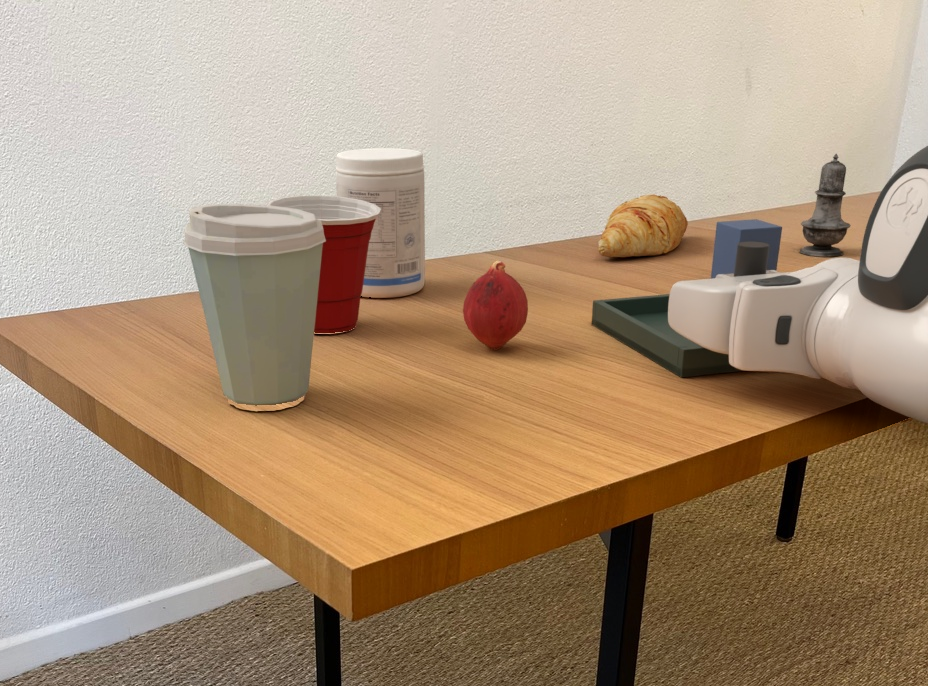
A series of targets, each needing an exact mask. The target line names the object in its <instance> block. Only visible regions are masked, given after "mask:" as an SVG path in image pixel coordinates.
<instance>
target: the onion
mask: <svg viewBox="0 0 928 686" xmlns="http://www.w3.org/2000/svg"><path fill="white" fill-rule="evenodd" d="M505 268H506V264H505V263H504V262H503V261H501V260H496V261H494V262H493V263H492V264H491V265H490V267H489V268H488V270H487V271H486V273H485V274H483V275H480V277H478V278H477V279H476V280H475V281H474V282H473V283H472V285H471V286H470V287H469V289H468V291H467V293H466V295H465V298H464V301H463V306H462V314H463V322H464V323H465V325H466V327H467V329H468V330H469V332H470V333H471V334H472V335H473V337H474V338H476V340H477V341H479V342H480V343H482V344H483V345H485V346H486V347H488V348H489V349H490V350H494V349H495V350H500V349H502V348H503V347H504V345H506V344H507V343H508V342H509V341H511V340H513V338H515V337H516V336H517V335H518V334H519V333H520V332H521V331H522V330H523V328H524V326H525V325H526V324H527V319H528V312H529V304H528V303H529V302H528V301H529V300H528V297H527V295H526V291H524V288H523V287H522V285H521V284H520V283H519V282H518V281H517V280H516V279H515V278H514V277H513V276H512V275H510V274H509V273H507V272H506V270H505Z"/></svg>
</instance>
